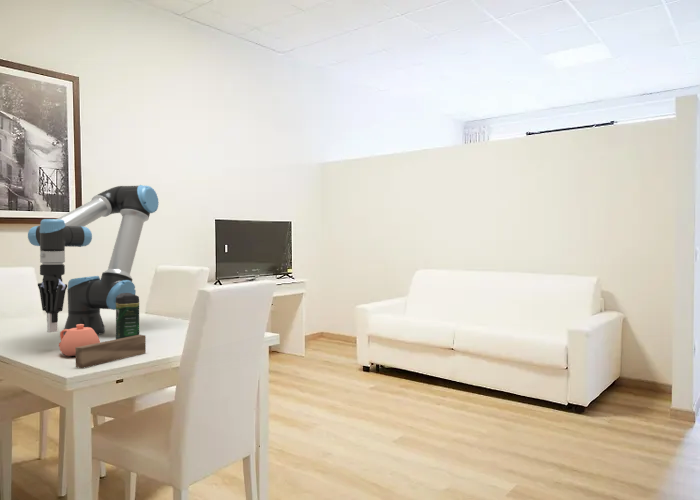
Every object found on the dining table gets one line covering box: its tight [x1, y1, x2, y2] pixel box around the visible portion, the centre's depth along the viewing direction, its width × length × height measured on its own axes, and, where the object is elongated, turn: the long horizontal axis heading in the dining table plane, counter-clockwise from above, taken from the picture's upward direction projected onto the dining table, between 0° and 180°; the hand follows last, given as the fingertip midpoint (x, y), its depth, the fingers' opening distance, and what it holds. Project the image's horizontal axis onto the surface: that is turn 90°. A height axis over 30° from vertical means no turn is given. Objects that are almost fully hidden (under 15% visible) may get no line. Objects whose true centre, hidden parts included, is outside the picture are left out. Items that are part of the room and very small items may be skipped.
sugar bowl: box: [58, 324, 101, 357], centre depth 181 cm, size 12×14×10 cm
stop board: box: [75, 334, 147, 369], centre depth 174 cm, size 3×24×6 cm, turn 153°
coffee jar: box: [115, 293, 140, 339], centre depth 202 cm, size 10×8×19 cm
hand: (52, 331), depth 187 cm, fingers closed
